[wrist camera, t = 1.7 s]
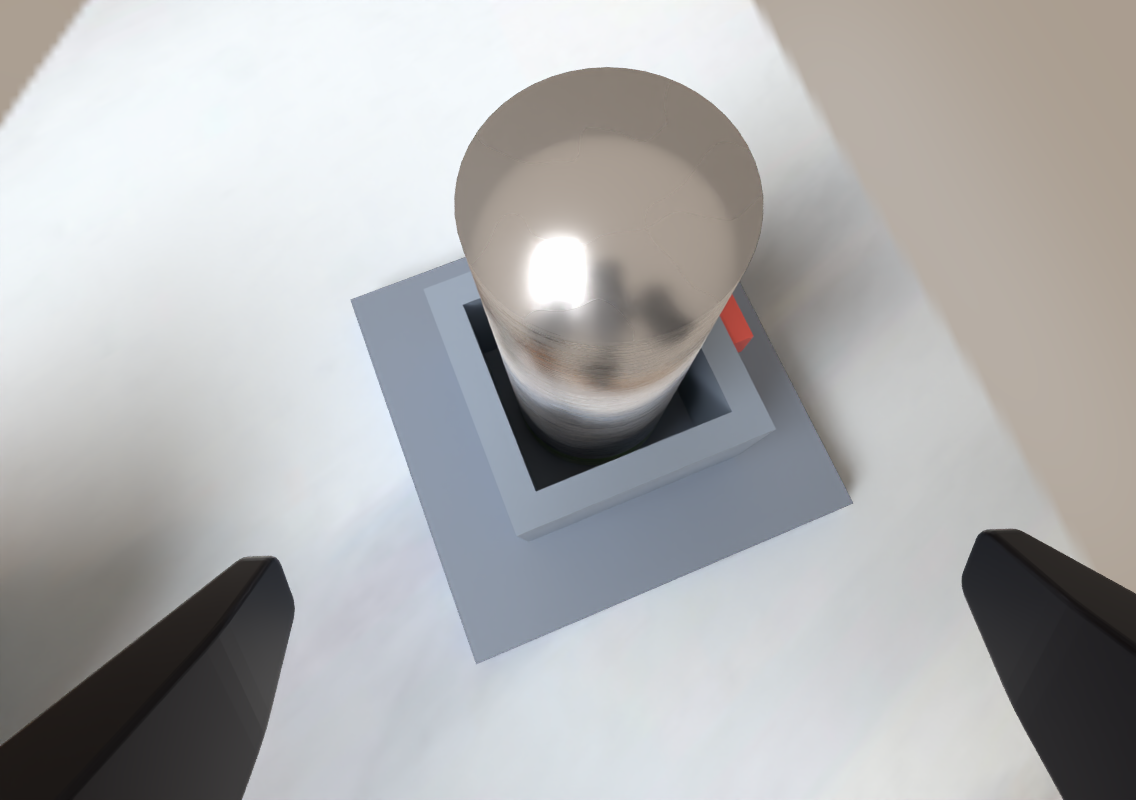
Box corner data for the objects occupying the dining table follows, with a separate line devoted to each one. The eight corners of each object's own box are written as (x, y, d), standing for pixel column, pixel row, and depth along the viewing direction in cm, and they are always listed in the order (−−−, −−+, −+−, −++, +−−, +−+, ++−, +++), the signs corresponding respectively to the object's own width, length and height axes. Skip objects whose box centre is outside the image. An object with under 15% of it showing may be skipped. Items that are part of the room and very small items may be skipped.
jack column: (685, 432, 20) (817, 274, 9) (550, 487, 19) (519, 391, 8) (628, 307, 21) (683, 29, 10) (499, 357, 20) (413, 125, 10)
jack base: (840, 506, 20) (923, 487, 15) (481, 659, 19) (449, 690, 14) (680, 192, 23) (708, 92, 18) (360, 311, 22) (299, 240, 17)
